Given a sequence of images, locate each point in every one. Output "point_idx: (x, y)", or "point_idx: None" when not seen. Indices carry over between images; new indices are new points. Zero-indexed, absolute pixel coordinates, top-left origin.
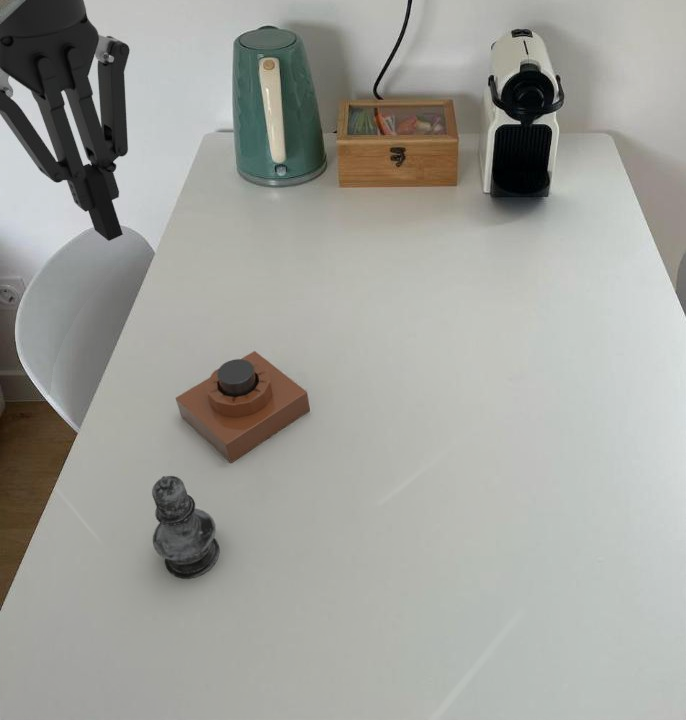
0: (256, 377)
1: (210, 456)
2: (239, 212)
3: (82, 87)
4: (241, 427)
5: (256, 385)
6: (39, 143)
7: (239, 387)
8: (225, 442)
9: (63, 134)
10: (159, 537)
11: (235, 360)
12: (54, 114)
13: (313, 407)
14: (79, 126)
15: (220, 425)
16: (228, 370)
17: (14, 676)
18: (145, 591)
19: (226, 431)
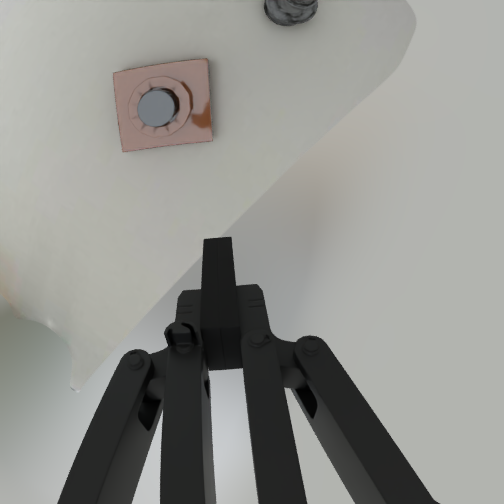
0: None
1: (218, 77)
2: (76, 324)
3: None
4: (184, 67)
5: None
6: (351, 426)
7: (163, 90)
8: (206, 60)
9: (278, 439)
10: (310, 10)
11: (147, 123)
12: (296, 497)
13: None
14: (210, 446)
15: (198, 82)
16: (160, 114)
17: (410, 31)
18: (327, 9)
19: (198, 72)
